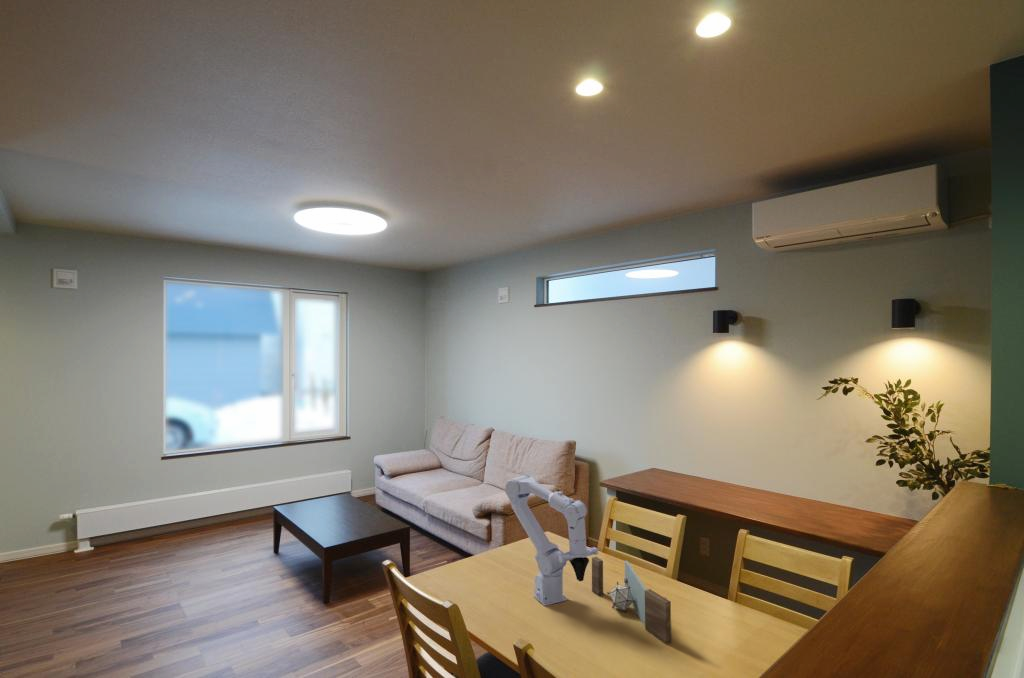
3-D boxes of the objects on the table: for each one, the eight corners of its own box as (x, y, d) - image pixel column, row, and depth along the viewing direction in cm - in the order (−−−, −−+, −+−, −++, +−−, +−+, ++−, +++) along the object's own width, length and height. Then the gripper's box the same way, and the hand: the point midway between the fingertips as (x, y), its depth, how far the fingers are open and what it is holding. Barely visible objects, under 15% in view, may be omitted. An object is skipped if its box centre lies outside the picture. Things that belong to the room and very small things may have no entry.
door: (642, 627, 159) (642, 591, 159) (622, 591, 183) (622, 560, 183) (648, 627, 159) (648, 591, 160) (627, 591, 183) (627, 560, 183)
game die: (620, 623, 169) (610, 605, 165) (609, 602, 177) (599, 585, 173) (643, 609, 170) (633, 591, 166) (631, 589, 177) (622, 571, 173)
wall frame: (665, 644, 150) (665, 602, 151) (592, 591, 184) (591, 557, 184) (671, 642, 151) (670, 601, 151) (596, 590, 185) (596, 556, 185)
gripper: (565, 545, 166) (568, 589, 165) (601, 537, 172) (604, 579, 171) (554, 540, 172) (557, 581, 171) (590, 532, 179) (592, 572, 178)
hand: (580, 580), depth 172 cm, fingers closed
